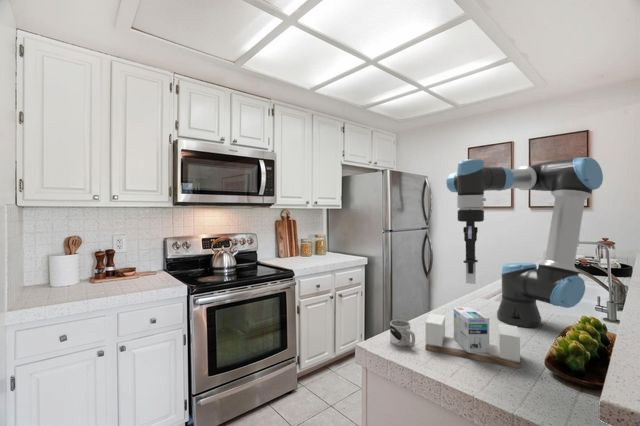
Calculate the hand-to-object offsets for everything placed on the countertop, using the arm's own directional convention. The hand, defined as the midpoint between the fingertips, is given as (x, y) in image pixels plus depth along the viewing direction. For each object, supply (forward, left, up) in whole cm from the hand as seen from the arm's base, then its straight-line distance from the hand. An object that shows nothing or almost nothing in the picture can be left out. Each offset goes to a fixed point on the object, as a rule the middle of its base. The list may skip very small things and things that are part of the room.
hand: (470, 283), depth 99 cm
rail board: (0, 0, -22) cm, 22 cm away
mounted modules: (0, 0, -20) cm, 20 cm away
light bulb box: (0, 0, -20) cm, 20 cm away
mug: (+19, -8, -22) cm, 30 cm away
